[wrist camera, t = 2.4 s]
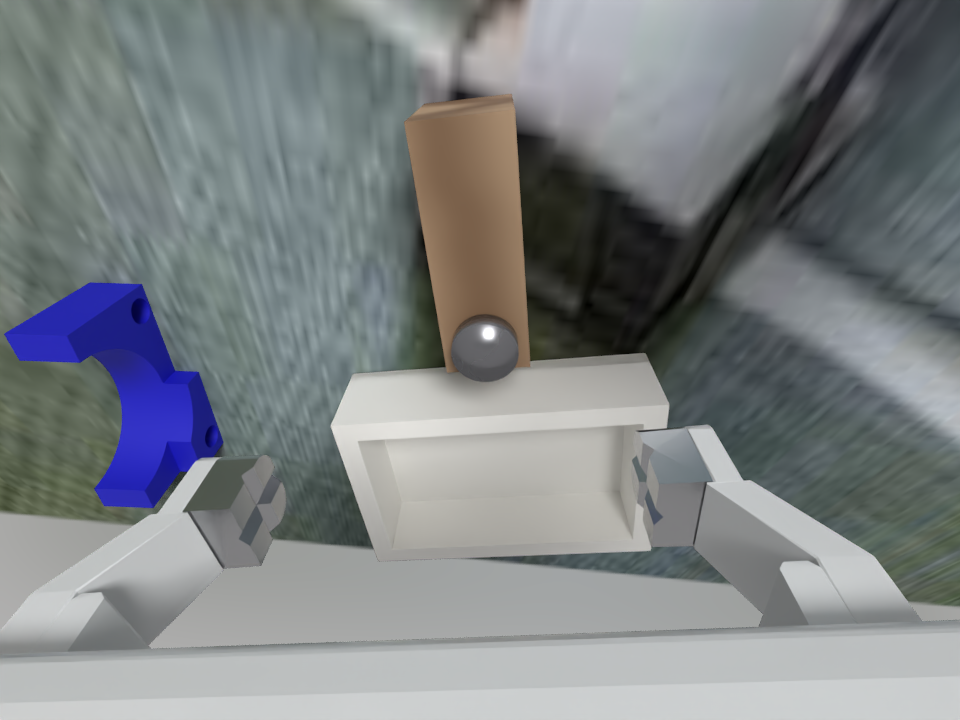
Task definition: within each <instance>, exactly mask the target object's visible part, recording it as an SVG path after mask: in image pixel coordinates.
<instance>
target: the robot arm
mask: <svg viewBox="0 0 960 720" xmlns="http://www.w3.org/2000/svg"><path fill="white" fill-rule="evenodd" d="M633 446H634V449H635V451H636V454H637V455H636V456H635V457H634V458H633V459H632V469H631V473H632V485H633V489H634V494H635V497H636V501H637V503H638V504H639V505H640V506H641V507H643V508H644V511H643V523H644V526H645V529H646V532H647V535H648V538H649V541H650V544H651V547H672V546H694V549H695V550H696V551H697V552H699V553H700V554H701V555H702V556H703V557H704V558H705V559H706V560H707V561H708V562H709V563H710V564H711V565H712V566H713V567H714V568H715V569H716V570H717V571H718V572H719V573H720V574H722V575H723V576H724V577H725V578H726V579H727V580H728V581H729V582H730V583H731V584H732V585H733V586H734V587H735V588H736V589H737V590H738V591H739V592H740V593H741V594H742V595H744V597H746V598H747V599H748V600H749V601H750V602H751V603H752V604H753V605H754V606H755V607H756V608H757V609H758V610H759V611H760V612H761V613H762V614H763V616H762V619H761V622H760V624H759V627H746V628H718V629H690V630H663V631H634V632H633V631H632V632H605V633H579V634H578V633H577V634H551V635H526V636H525V635H524V636H499V637H471V638H445V639H444V638H443V639H413V640H386V641H355V642H326V643H299V644H270V645H243V646H214V647H189V648H188V647H187V648H159V649H158V648H157V649H151V648H150V647H149V646H148V645H149V644H150V643H151V642H152V641H153V640H154V639H155V638H156V637H157V636H158V635H159V634H160V633H161V632H162V631H163V630H164V629H165V628H166V627H167V626H168V625H169V624H170V623H171V622H172V621H173V620H174V619H175V618H176V617H177V616H178V615H179V614H181V613H182V611H183V610H184V609H185V608H186V607H188V605H190V604H191V603H192V602H193V601H194V600H195V599H196V598H197V597H198V596H199V594H201V593H202V592H203V591H204V590H205V589H206V588H207V587H208V586H209V585H210V584H211V583H212V582H213V581H214V580H215V579H216V578H217V577H218V576H219V575H220V574H221V572H223V569H224V568H238V567H251V566H261V565H262V563H263V560H264V558H265V556H266V553H267V551H268V549H269V547H270V545H271V543H272V540H273V539H272V536H271V533H270V531H271V530H272V529H273V528H275V527H276V526H277V525H278V524H279V523H280V522H281V520H282V517H283V515H284V513H285V506H286V494H285V489H284V486H283V484H282V482H281V481H280V480H279V479H277V478H276V477H274V476H273V475H272V473H273V471H274V468H275V466H274V464H273V462H272V460H271V458H270V457H269V456H266V455H250V456H225V457H212V458H201V459H199V460H197V461H195V462H194V464H193V465H192V467H191V468H190V469H189V471H188V472H187V474H186V475H185V476H184V478H183V479H182V481H181V482H180V483H179V485H178V486H177V487H176V489H175V490H174V492H173V493H172V494H171V496H170V497H169V499H168V500H167V501H166V503H165V504H164V506H163V507H162V508H161V510H160V511H159V512H158V514H152V515H149V516H148V517H146V518H145V519H143V520H142V521H140V522H139V523H137V524H136V525H134V526H133V527H131V528H130V529H128V530H127V531H125V532H123V533H122V534H121V535H119V536H117V537H116V538H115V539H113V540H111V541H110V542H108V543H107V544H105V545H104V546H103V547H101V548H99V549H98V550H96V551H95V552H93V553H92V554H90V555H89V556H87V557H86V558H84V559H83V560H81V561H80V562H78V563H77V564H75V565H74V566H72V567H71V568H69V569H68V570H66V571H65V572H63V573H62V574H60V575H59V576H57V577H56V578H54V579H53V580H51V581H50V582H48V583H47V584H45V585H44V586H42V587H41V588H39V589H38V590H36V591H35V592H33V593H32V594H31V595H30V596H29V597H28V598H27V599H26V601H25V602H24V603H23V604H22V605H21V606H20V608H19V609H18V610H17V611H16V613H15V614H14V615H13V616H12V617H11V618H10V620H9V621H8V622H7V623H6V624H5V626H4V627H3V628H2V629H1V630H0V720H960V620H945V621H944V620H943V621H922V620H921V619H920V617H919V616H918V615H917V613H916V612H915V611H914V609H913V608H912V607H911V605H910V604H909V602H908V601H907V600H906V598H905V597H904V596H903V594H902V593H901V592H900V590H899V589H898V588H897V586H896V585H895V584H894V582H893V581H892V580H891V578H890V577H889V576H888V574H887V573H886V572H885V570H884V569H883V567H882V566H881V565H880V563H879V562H878V561H877V559H876V558H875V557H874V556H873V555H871V554H870V553H868V552H866V551H865V550H863V549H862V548H860V547H858V546H857V545H855V544H853V543H852V542H850V541H849V540H847V539H845V538H844V537H842V536H840V535H839V534H837V533H836V532H834V531H832V530H831V529H829V528H827V527H826V526H824V525H823V524H821V523H819V522H818V521H816V520H814V519H813V518H811V517H810V516H808V515H806V514H805V513H803V512H801V511H800V510H798V509H797V508H795V507H793V506H792V505H790V504H788V503H787V502H785V501H784V500H782V499H780V498H779V497H777V496H775V495H774V494H772V493H771V492H769V491H767V490H766V489H764V488H762V487H761V486H759V485H758V484H756V483H754V482H753V481H751V480H746V481H743V479H742V478H741V476H740V474H739V473H738V471H737V469H736V467H735V466H734V464H733V462H732V461H731V459H730V457H729V455H728V454H727V452H726V450H725V449H724V447H723V445H722V443H721V442H720V440H719V438H718V437H717V435H716V433H715V431H714V430H713V428H712V427H711V426H709V425H697V426H685V427H677V428H663V429H649V430H636V431H635V434H634V441H633Z"/></svg>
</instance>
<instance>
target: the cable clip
mask: <svg viewBox="0 0 960 720" xmlns="http://www.w3.org/2000/svg"><path fill="white" fill-rule="evenodd" d="M4 335H5V336H6V338H7V340H8V342H9V343H10V345H11V347H12V348H13V350H14V352H15V354H16V355H17V357H18V359H19V360H20V361H49V362H78V363H80V362H82V361H83V360H85V359H86V358H88V357H89V356H91V355H92V356H93V357H95V358H96V359H97V360H98V361H100V362H101V363H102V364H103V365H104V366H105V367H106V369H107V370H108V371H109V373H110V374H111V376H112V378H113V379H114V382H115V384H116V386H117V389H118V392H119V395H120V400H121V406H122V429H121V435H120V440H119V444H118V447H117V450H116V453H115V456H114V458H113V461H112V463H111V465H110V467H109V469H108V470H107V472H106V474H105V475H104V477H103V478H102V480H101V481H100V482H99V484H98V485H97V486H96V487H95V488H94V489H95V491H96V493H97V494H98V496H99V498H100V499H101V501H102V503H103V505H104V506H118V507H143V508H154V506H155V505H156V504H157V502H158V501H159V500H160V498H161V497H162V495H163V494H164V493H165V491H166V490H167V489H168V487H169V486H170V485H171V483H172V482H173V481H174V479H175V478H176V476H177V475H178V474H179V472H180V471H182V472H188V471H189V469H190V468H191V467H192V465H193V464H194V462H195V461H197V460H199V459H201V458H212V457H214V455H215V454H216V452H217V451H218V449H219V448H220V447H221V445H222V444H223V440H222V437H221V434H220V431H219V428H218V426H217V423H216V420H215V417H214V414H213V411H212V409H211V406H210V403H209V400H208V397H207V394H206V392H205V389H204V386H203V383H202V380H201V377H200V375H199V372H187V371H175V369H174V367H173V364H172V362H171V359H170V356H169V354H168V351H167V349H166V346H165V343H164V341H163V338H162V336H161V333H160V330H159V328H158V325H157V323H156V320H155V317H154V315H153V312H152V310H151V307H150V304H149V302H148V299H147V297H146V294H145V291H144V289H143V286H142V284H116V283H89V284H87V285H85V286H83V287H82V288H80V289H78V290H77V291H75V292H73V293H72V294H70V295H68V296H67V297H65V298H63V299H62V300H60V301H58V302H57V303H55V304H53V305H52V306H50V307H48V308H47V309H45V310H43V311H42V312H40V313H38V314H37V315H35V316H33V317H32V318H30V319H28V320H26V321H25V322H23V323H21V324H20V325H18V326H16V327H15V328H13V329H11V330H10V331H8V332H6V333H5V334H4Z"/></svg>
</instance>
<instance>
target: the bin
mask: <svg viewBox="0 0 960 720" xmlns="http://www.w3.org/2000/svg"><path fill="white" fill-rule="evenodd" d="M668 413H669V403H668V400H667V398H666V396H665V394H664V392H663V390H662V388H661V385H660V383H659V381H658V379H657V377H656V375H655V373H654V370H653V368H652V366H651V364H650V362H649V360H648V358H647V356H646V353H637V354H623V355H609V356H595V357H581V358H567V359H553V360H539V361H530V367H521V368H514V369H513V370H512V371H511V372H510V373H509V374H508V375H507V376H505V377H504V378H502V379H499V380H496V381H492V382H479V381H474V380H471V379H469V378H467V377H465V376H464V375H462V374H461V373H460V372H449V373H447V369H446V367H441V368H427V369H413V370H399V371H385V372H371V373H357V374H353V375H352V377H351V380H350V382H349V384H348V387H347V389H346V391H345V394H344V396H343V398H342V401H341V403H340V405H339V408H338V410H337V412H336V415H335V417H334V419H333V422H332V424H331V429H332V431H333V434H334V437H335V440H336V443H337V446H338V448H339V451H340V454H341V457H342V460H343V463H344V465H345V468H346V471H347V474H348V477H349V480H350V483H351V485H352V488H353V491H354V494H355V497H356V500H357V502H358V505H359V508H360V511H361V514H362V517H363V520H364V522H365V525H366V528H367V531H368V534H369V537H370V539H371V542H372V545H373V548H374V551H375V554H376V557H377V559H378V561H401V560H402V561H404V560H428V559H455V558H480V557H506V556H531V555H557V554H582V553H607V552H633V551H651V544H650V541H649V538H648V535H647V532H646V529H645V526H644V523H643V511H644V508H643V507H641V506H640V505H639V504H638V503H637V501H636V497H635V494H634V489H633V485H632V473H631V469H632V459H633V458H634V457H635V456H636V455H637V454H636V451H635V449H634V446H633V441H634V434H635V431H636V430H649V429H663V428H667V420H668Z"/></svg>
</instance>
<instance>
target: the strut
mask: <svg viewBox="0 0 960 720" xmlns="http://www.w3.org/2000/svg"><path fill="white" fill-rule="evenodd" d="M404 124H405V130H406V136H407V142H408V148H409V154H410V159H411V165H412V171H413V177H414V183H415V189H416V194H417V200H418V206H419V212H420V218H421V224H422V229H423V235H424V241H425V247H426V253H427V259H428V264H429V270H430V276H431V282H432V288H433V294H434V299H435V305H436V311H437V317H438V323H439V329H440V334H441V340H442V346H443V352H444V358H445V364H446V369H447V373H449V372H460V373H461V374H462V375H464V376H465V377H467V378H469V379H471V380H474V381H479V382H492V381H496V380H499V379H502V378H504V377H505V376H507V375H508V374H509V373H510V372H511V371H512V370H513V369H514V368H521V367H530V351H529V334H528V317H527V301H526V284H525V268H524V251H523V234H522V218H521V201H520V184H519V168H518V151H517V135H516V118H515V107H514V103H513V99H512V94H506V95H498V96H489V97H480V98H472V99H463V100H454V101H446V102H437V103H429V104H424V105H423V106H422V107H421V108H419V109H418V110H417V111H416V112H415V113H414V114H413V115H412V116H410V117H409V118H408V119H407V120H406V121H405V122H404Z"/></svg>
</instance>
